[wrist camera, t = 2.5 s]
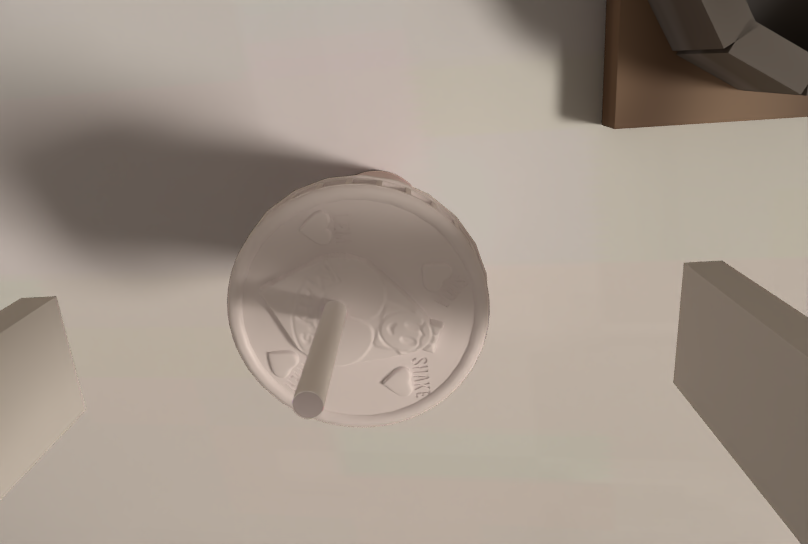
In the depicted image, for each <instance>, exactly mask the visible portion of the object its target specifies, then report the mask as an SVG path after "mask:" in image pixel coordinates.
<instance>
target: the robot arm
mask: <svg viewBox="0 0 808 544" xmlns="http://www.w3.org/2000/svg"><path fill="white" fill-rule="evenodd" d="M673 383H674V384H675V385H676V386H677V388H678V389H679V390H680V392H681V393H682V394H683V395H684V397H685V398H686V399H687V400H688V402H689V403H690V404H691V405H692V407H693V408H694V409H695V410H696V412H697V413H698V414H699V416H700V417H701V418H702V419H703V421H704V422H705V423H706V424H707V426H708V427H709V428H710V429H711V431H712V432H713V433H714V434H715V436H716V437H717V438H718V439H719V441H720V442H721V443H722V445H723V446H724V447H725V448H726V450H727V451H728V452H729V453H730V455H731V456H732V457H733V458H734V460H735V461H736V462H737V463H738V465H739V466H740V467H741V469H742V470H743V471H744V472H745V474H746V475H747V476H748V477H749V479H750V480H751V481H752V482H753V484H754V485H755V486H756V487H757V489H758V490H759V491H760V493H761V494H762V495H763V496H764V498H765V499H766V500H767V501H768V503H769V504H770V505H771V506H772V508H773V509H774V510H775V511H776V513H777V514H778V515H779V517H780V518H781V519H782V520H783V522H784V523H785V524H786V525H787V527H788V528H789V529H790V530H791V532H792V533H793V534H794V535H795V537H796V538H797V539H798V541H799V542H800V543H801V544H808V317H806V316H805V315H803V314H802V313H800V312H799V311H797V310H796V309H794V308H793V307H791V306H790V305H788V304H787V303H785V302H784V301H782V300H781V299H779V298H778V297H776V296H775V295H773V294H772V293H770V292H769V291H767V290H766V289H764V288H763V287H761V286H760V285H758V284H757V283H755V282H754V281H752V280H750V279H749V278H747V277H746V276H744V275H743V274H741V273H740V272H738V271H737V270H735V269H734V268H732V267H731V266H729V265H728V264H726V263H725V262H723V261H708V262H689V263H684V267H683V279H682V290H681V301H680V313H679V324H678V336H677V347H676V358H675V370H674V381H673ZM85 410H86V407H85V403H84V399H83V395H82V392H81V388H80V384H79V380H78V376H77V373H76V369H75V365H74V361H73V357H72V354H71V350H70V346H69V342H68V339H67V335H66V331H65V327H64V323H63V320H62V316H61V312H60V308H59V305H58V301H57V297H56V296H52V297H34V298H21V299H19V300H17V301H16V302H14V303H12V304H11V305H9V306H7V307H6V308H4V309H2V310H1V311H0V500H1V499H2V498H3V497H4V496H5V495H6V494H7V493H8V492H9V491H10V490H11V489H12V487H13V486H14V485H15V484H16V483H17V482H18V481H19V480H20V479H21V478H22V477H23V476H24V475H25V474H26V473H27V472H28V471H29V469H30V468H31V467H32V466H33V465H34V464H35V463H36V462H37V461H38V460H39V459H40V458H41V457H42V456H43V455H44V454H45V453H46V451H47V450H48V449H49V448H50V447H51V446H52V445H53V444H54V443H55V442H56V441H57V440H58V439H59V438H60V437H61V436H62V435H63V433H64V432H65V431H66V430H67V429H68V428H69V427H70V426H71V425H72V424H73V423H74V422H75V421H76V420H77V419H78V418H79V417H80V415H81V414H82V413H83V412H84V411H85Z"/></svg>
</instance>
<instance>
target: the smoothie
mask: <svg viewBox="0 0 808 544" xmlns="http://www.w3.org/2000/svg"><path fill="white" fill-rule="evenodd" d="M227 308H228V319H229V325H230V329H231V333H232V337H233V340H234V342H235V345H236V347H237V350H238V352H239V354H240V356H241V358H242V360H243V361H244V363H245V365H246V366H247V368H248V369H249V371H250V372H251V373H252V375H253V376H254V377H255V379H256V380H257V381H258V382H259V383H260V384H261V385H262V386H263V387H264V388H265V389H266V390H267V391H268V392H269V393H270V394H271V395H273V396H274V397H275V398H276V399H278V400H279V401H280V402H282V403H283V404H285V405H287V406H288V407H290V408H291V409H293V411H294V412H295V413H296V414H297V415H298V416H299V417H301V418H304V419H315V420H319V421H322V422H325V423H330V424H334V425H340V426H348V427H376V426H384V425H389V424H394V423H398V422H401V421H404V420H408V419H410V418H413V417H415V416H418V415H420V414H422V413H424V412H426V411H428V410H430V409H431V408H433V407H434V406H436V405H437V404H439V403H440V402H442V401H443V400H444V399H445V398H447V397H448V396H449V395H450V394H451V393H452V392H454V391H455V390H456V389H457V388H458V387H459V385H460V384H461V383H462V382H463V381H464V380H465V378H466V377H467V376H468V374H469V373H470V371H471V370H472V368H473V367H474V365H475V363H476V361H477V359H478V357H479V355H480V353H481V350H482V348H483V345H484V342H485V339H486V335H487V330H488V324H489V314H490V311H489V294H488V287H487V274H486V271H485V268H484V265H483V263H482V260H481V257H480V254H479V251H478V249H477V246H476V243H475V242H474V240H473V239H472V238H471V236H470V235H469V233H468V232H467V231H466V229H465V228H464V226H463V225H462V224H461V222H460V221H459V219H458V218H457V217H456V216H455V215H454V214H453V213H452V212H450V211H449V210H448V209H447V208H445V207H444V206H443V205H442V204H441V203H439V202H438V201H437V200H436V199H434V198H433V197H432V196H431V195H429V194H427V193H425V192H423V191H420V190H418V189H416V188H414V187H412V186H411V185H410V184H409V183H408V182H407V181H406V180H404V179H403V178H401V177H399V176H397V175H395V174H393V173H390V172H385V171H367V172H363V173H360V174H357V175H352V176H343V177H333V178H326V179H323V180H321V181H318V182H316V183H313V184H310V185H308V186H305V187H303V188H300V189H297V190H295V191H293V192H292V193H291V194H289V195H288V196H287V197H285V198H284V199H283V200H281V201H280V202H279V203H277V204H276V205H275V206H273V207H272V208H270V209H269V210H268V211H267V212H266V213H265V215H264V216H263V217H262V219H261V220H260V221H259V222H258V224H257V225H256V226H255V228H254V229H253V230H252V232H251V233H250V234H249V236H248V237H247V240H246V241H245V243H244V244H243V246H242V248H241V250H240V252H239V254H238V256H237V258H236V261H235V263H234V266H233V269H232V272H231V276H230V280H229V287H228V297H227Z"/></svg>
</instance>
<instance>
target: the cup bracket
mask: <svg viewBox="0 0 808 544" xmlns="http://www.w3.org/2000/svg"><path fill="white" fill-rule="evenodd" d="M794 117H808V0H606V26H605V53H604V79H603V105H602V125H604V126H607V127H610V128H613V129H622V128H638V127H653V126H669V125H684V124H700V123H716V122H731V121H747V120H763V119H778V118H794Z"/></svg>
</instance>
